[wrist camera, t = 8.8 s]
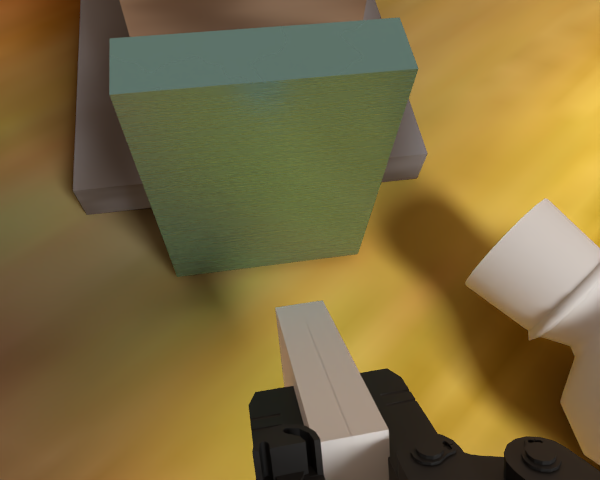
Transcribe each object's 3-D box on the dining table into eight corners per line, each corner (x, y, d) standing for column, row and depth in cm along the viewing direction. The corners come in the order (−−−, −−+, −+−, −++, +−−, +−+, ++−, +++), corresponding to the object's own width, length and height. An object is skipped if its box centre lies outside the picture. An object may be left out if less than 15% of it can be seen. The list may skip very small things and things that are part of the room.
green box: (177, 276, 23) (109, 94, 13) (159, -1, 31) (110, -239, 21) (357, 254, 24) (418, 68, 14) (294, -10, 32) (305, -241, 22)
